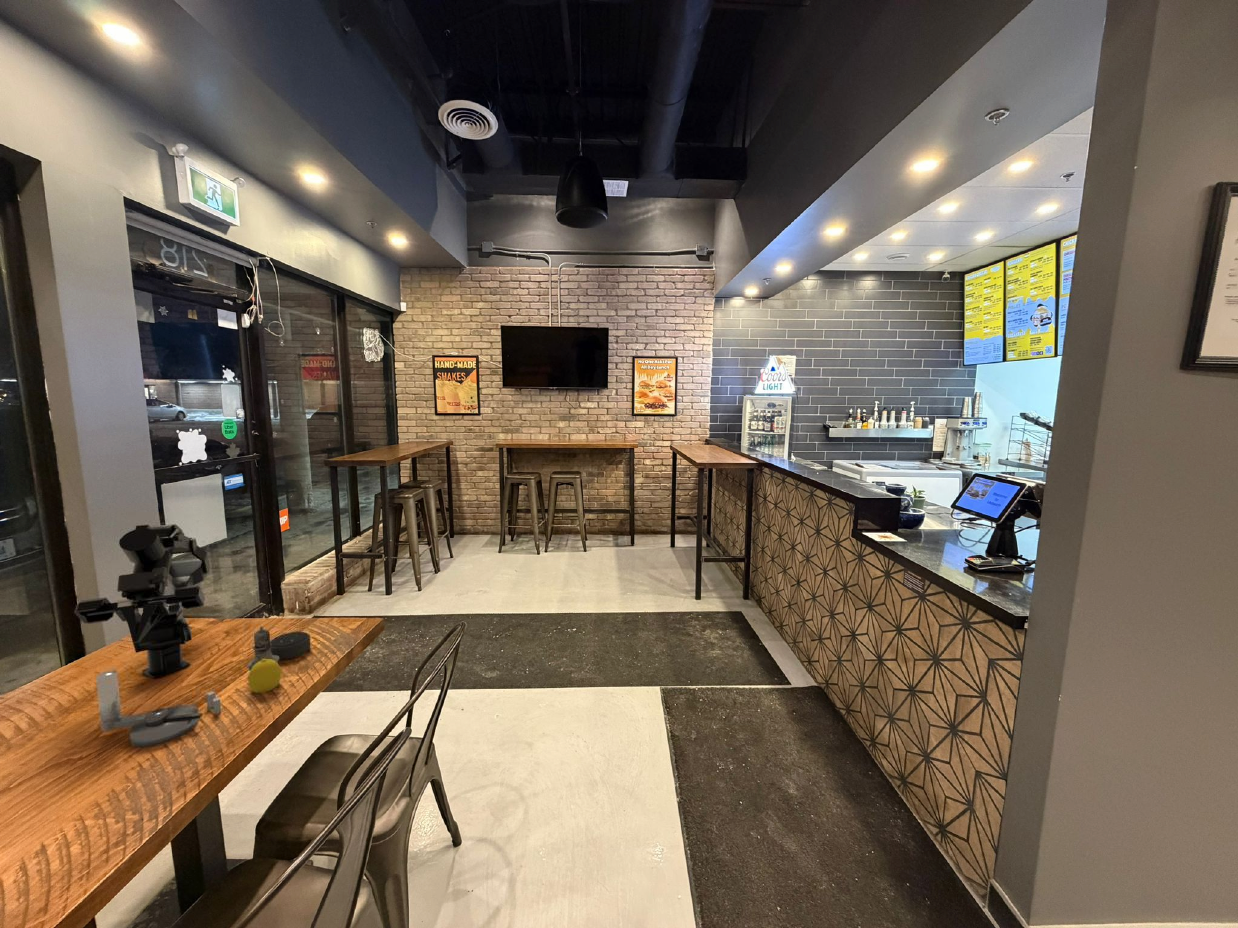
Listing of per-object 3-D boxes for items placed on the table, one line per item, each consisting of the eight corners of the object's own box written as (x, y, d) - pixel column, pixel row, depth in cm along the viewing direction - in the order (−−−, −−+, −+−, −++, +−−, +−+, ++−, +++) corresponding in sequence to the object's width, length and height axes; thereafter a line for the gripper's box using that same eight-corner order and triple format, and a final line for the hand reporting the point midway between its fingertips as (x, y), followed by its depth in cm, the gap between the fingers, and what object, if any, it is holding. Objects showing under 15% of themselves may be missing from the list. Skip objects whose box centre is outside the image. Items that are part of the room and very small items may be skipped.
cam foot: (99, 738, 82) (93, 675, 81) (175, 705, 92) (170, 648, 91) (134, 760, 77) (128, 693, 76) (210, 723, 87) (206, 663, 86)
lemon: (261, 687, 101) (259, 652, 100) (287, 686, 101) (285, 651, 101) (243, 702, 96) (240, 666, 95) (271, 701, 96) (268, 665, 95)
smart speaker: (261, 656, 115) (260, 640, 114) (300, 641, 122) (300, 627, 122) (277, 666, 110) (276, 650, 110) (317, 650, 117) (316, 635, 117)
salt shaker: (262, 684, 102) (259, 633, 101) (241, 681, 103) (237, 630, 102) (286, 670, 108) (283, 622, 107) (266, 667, 109) (263, 619, 108)
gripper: (73, 562, 91) (49, 637, 83) (197, 550, 101) (186, 616, 93) (95, 588, 99) (75, 659, 91) (208, 573, 109) (200, 637, 100)
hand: (135, 642), depth 93 cm, fingers closed
